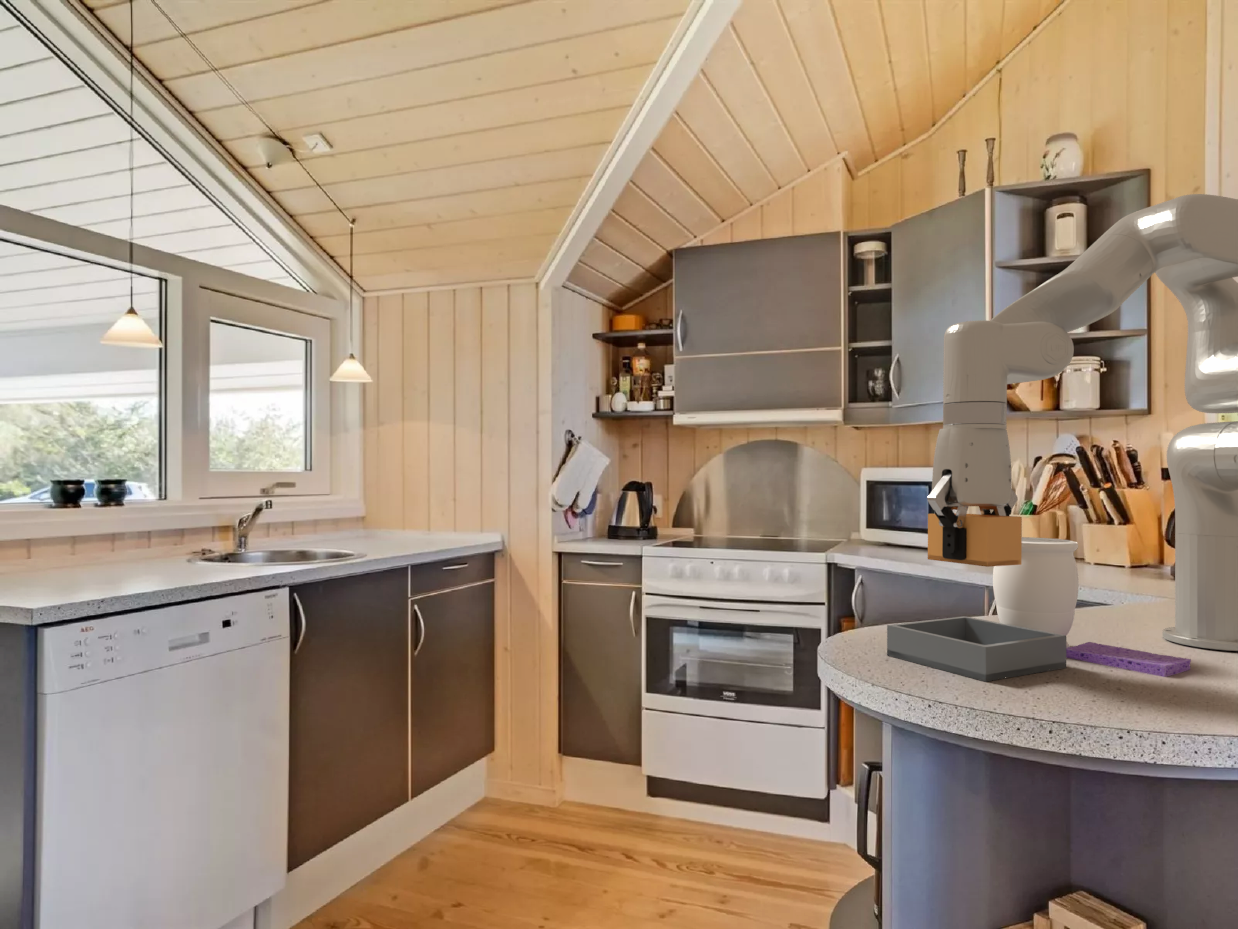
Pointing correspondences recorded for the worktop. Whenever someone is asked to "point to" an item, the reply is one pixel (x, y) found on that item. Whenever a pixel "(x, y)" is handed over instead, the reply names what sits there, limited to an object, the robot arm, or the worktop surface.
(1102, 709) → the worktop surface
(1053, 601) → the jar
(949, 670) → the grey square tray
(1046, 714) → the worktop surface
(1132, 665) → the sponges
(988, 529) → the small crate
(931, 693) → the worktop surface
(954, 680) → the worktop surface
